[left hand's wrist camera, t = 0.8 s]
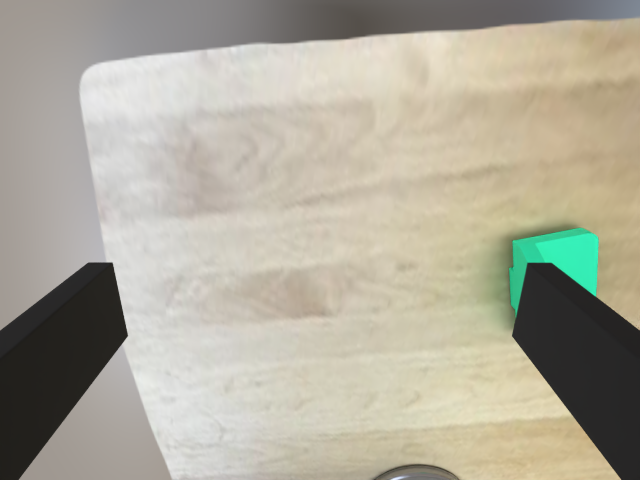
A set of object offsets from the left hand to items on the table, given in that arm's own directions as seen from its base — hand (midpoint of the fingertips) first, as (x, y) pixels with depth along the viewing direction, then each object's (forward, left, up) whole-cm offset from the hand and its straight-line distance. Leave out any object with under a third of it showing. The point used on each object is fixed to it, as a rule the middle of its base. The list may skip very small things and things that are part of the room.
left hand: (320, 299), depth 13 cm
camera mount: (-14, -25, -28) cm, 40 cm away
